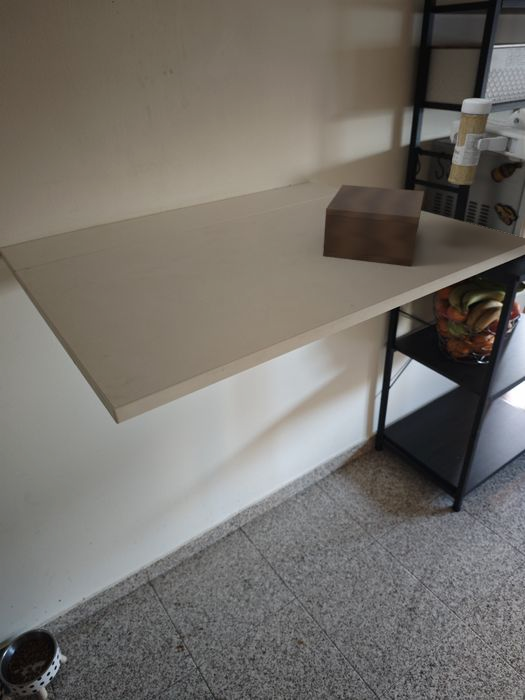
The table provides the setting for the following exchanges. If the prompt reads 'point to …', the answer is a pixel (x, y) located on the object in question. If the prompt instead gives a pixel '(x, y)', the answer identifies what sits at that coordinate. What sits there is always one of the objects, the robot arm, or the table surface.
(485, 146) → the robot arm
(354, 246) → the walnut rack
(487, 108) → the sprinkles bottle
